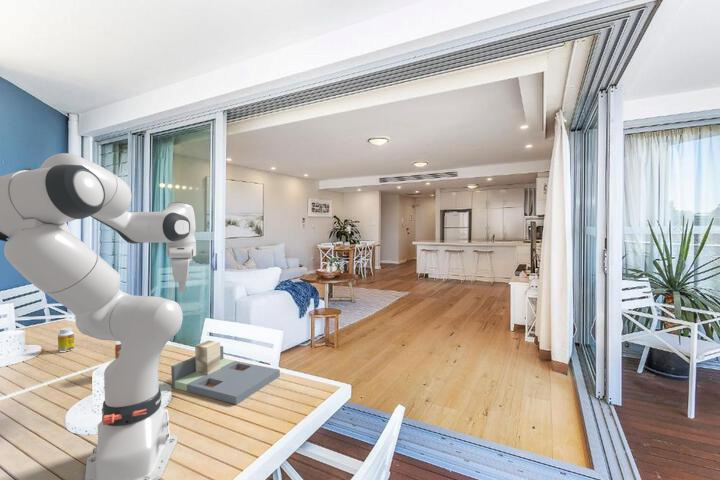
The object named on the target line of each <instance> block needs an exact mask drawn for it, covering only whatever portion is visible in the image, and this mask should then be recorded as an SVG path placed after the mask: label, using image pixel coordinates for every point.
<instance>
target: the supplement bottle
mask: <svg viewBox="0 0 720 480" xmlns="http://www.w3.org/2000/svg"><path fill="white" fill-rule="evenodd" d="M57 349H58V350H59V351H67V350H71V349H73V350H75V333H74V331H73V329H72V327H70V326H69V327H63V328H61V329H59V333H58V334H57ZM58 350H57V351H58ZM59 351H58V352H59ZM71 351H72V350H71Z"/></svg>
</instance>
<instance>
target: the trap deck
mask: <svg viewBox="0 0 720 480" xmlns="http://www.w3.org/2000/svg"><path fill="white" fill-rule="evenodd" d="M222 359H225V358H224V346H223V345H220V360H222ZM170 368H171V388H173V389H176V388H175V381H176V380H178V379H180V378H183V377H185V376H187V375H189V374H191V373H193V372H196V360H195V356H193V357H190V358H188V359H185V360H183V361H181V362H178V363H175V364H173V365H171V367H170ZM280 372H281V370H280V369H277V368H272V367H267V366H262V365H258V364H252V363H248V362H243V361H239V360H233V362H231V363H229V364H227V365H225V366H223V367H221V369H219V370H217V371H215V372H213V373H211V374H208V375H205V376H203V377H201V378H199V379H197V380H195V381H192V382H190V383H188V384H187V391H186V392H187V393H188V392H189V393H191V394H196V395H199V396H201V397H202V396H204V397H207V398H210V399H214V400H218V401H222V402H226V403H229V404H232V405H233V404H234V405H236V406H237V405H238V404H240V403H241V402H243V401H245V400H246V399H247V398H249V397H250V396H252V395H253V394H255V393H256V392H258V391H260V390H261V389H263V388H264V387H266V386H268V384H270V383H272V382H273V381H275V380H276V379H278V378H279V377H280V376H281V373H280Z"/></svg>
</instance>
